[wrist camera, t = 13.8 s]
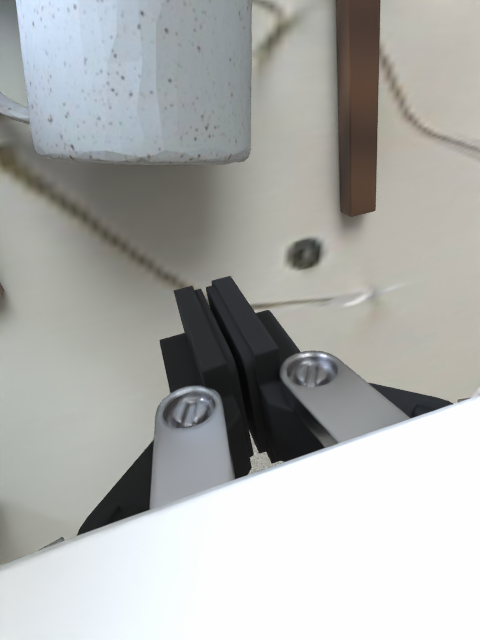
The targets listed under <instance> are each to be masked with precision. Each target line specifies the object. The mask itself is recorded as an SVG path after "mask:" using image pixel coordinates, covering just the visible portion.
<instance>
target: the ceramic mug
mask: <svg viewBox="0 0 480 640" xmlns="http://www.w3.org/2000/svg"><path fill="white" fill-rule="evenodd" d="M16 7H17V15H18V24H19V33H20V43H21V51H22V59H23V67H24V75H25V84H26V92H27V100H28V108H26V107H23V106H21V105H19V104H18V103H16V102H14V101H12V100H10V99H9V98H7V97H6V96H5V95H3V94H2V93H1V92H0V114H2V115H4V116H6V117H8V118H10V119H13V120H16V121H19V122H22V123H25V124H30V127H31V134H32V139H33V143H34V148H35V152H36V153H37V154H39V155H40V156H42V157H46V158H51V159H55V160H65V161H75V162H91V163H107V164H120V165H125V164H133V165H141V164H146V165H160V164H162V165H224V164H230V163H233V162H243V161H245V160H246V159H247V158H248V157H249V154H250V150H251V72H252V32H251V20H252V0H16Z"/></svg>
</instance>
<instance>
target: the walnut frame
mask: <svg viewBox="0 0 480 640" xmlns="http://www.w3.org/2000/svg"><path fill="white" fill-rule="evenodd" d="M336 2H337V49H338V96H339V144H340V191H341V212H342V213H344V214H346V215H348V216H351V217H352V216H357V215H361V214H365V213H369V212H373V211H375V209H376V166H377V123H378V80H379V37H380V0H336ZM3 293H4V289H3V287H2V285H1V283H0V298H1V297H2V295H3Z"/></svg>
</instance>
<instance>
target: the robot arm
mask: <svg viewBox="0 0 480 640" xmlns="http://www.w3.org/2000/svg"><path fill="white" fill-rule="evenodd" d="M206 291H207V296H208V301H209V305H210V307H209V305H208V303H207V301H206V299H205V297H204V294H203V292H202V290H201V289H198V290H194V289H193V286H189V287H186V288H182V289H178V290H174V294H175V298H176V302H177V305H178V309H179V313H180V317H181V321H182V324H183V328H184V332H185V333H183V334H179V335H176V336H172V337H169V338H165V339H161V340H160V346H161V350H162V355H163V360H164V365H165V369H166V374H167V379H168V383H169V388H170V393H171V394H169V395H168V396H167V397H166V398H164V399H163V400H162V402H161V403H160V405H159V406H158V408H157V411H156V415H155V431H154V440H153V441H152V442H151V444H150V445H149V446H148V447H147V448H146V449H145V451H144V452H143V453H142V454H141V455H140V456H139V458H138V459H137V460H136V461H135V462H134V463H133V465H132V466H131V467H130V468H129V469H128V470H127V472H126V473H125V474H124V475H123V476H122V477H121V479H120V480H119V481H118V482H117V483H116V485H115V486H114V487H113V488H112V489H111V490H110V492H109V493H108V494H107V495H106V496H105V497H104V499H103V500H102V501H101V502H100V503H99V504H98V506H97V507H96V508H95V509H94V510H93V511H92V513H91V514H90V515H89V516H88V517H87V519H86V520H85V522H84V523H83V525H82V526H81V527H80V529H79V532H78V534H77V536H75V537H73V538H70V539H67V540H64V538H63V537H61V538H59V539H58V540H56V541H54V542H52V543H50V544H49V545H47V546H45V547H43V548H42V549H40V550H38V551H36V552H34V553H31V554H29V555H26V556H24V557H21V558H19V559H16V560H14V561H11V562H9V563H6V564H4V565H1V566H0V640H480V395H479V396H476V397H473V398H466V399H459V400H458V402H457V403H455V404H453V403H451V402H449V401H446V400H443V399H440V398H437V397H432V396H427V395H423V394H418V393H414V392H409V391H404V390H400V389H395V388H391V387H386V386H381V385H377V384H372V383H368V382H366V381H365V380H364V379H362V378H361V377H360V376H359V375H358V374H356V373H355V372H354V371H353V370H352V369H350V368H349V367H348V366H347V365H346V364H344V363H343V362H342V361H341V360H339V359H338V358H337V357H335V356H333V355H332V354H329V353H326V352H322V351H303V352H300V350H299V349H298V348H297V346H296V345H295V344H294V342H293V341H292V340H291V338H290V337H289V336H288V334H287V333H286V332H285V330H284V329H283V328H282V326H281V325H280V324H279V322H278V321H277V320H276V318H275V317H274V316H273V314H272V313H271V312H270V311H269V310H266V311H262V312H258V313H255V312H254V310H253V309H252V307H251V306H250V304H249V303H248V301H247V300H246V299H245V297H244V296H243V294H242V293H241V291H240V290H239V288H238V287H237V285H236V284H235V282H234V281H233V279H232V278H231V276H228V277H224V278H220V279H216V280H213V281H212V286H209V287H206ZM249 431H250V433H251V435H252V438H253V440H254V443H255V445H256V447H257V450H258V452H259V453H263V452H267V454H268V456H269V459H270V461H271V463H275V462H278V461H284V463H281V464H278V465H275V466H272V467H269V468H266V469H264V470H261V471H258V472H255V473H252V474H249V475H248V473H249V471H250V470H251V468H252V467H251V462H250V457H251V456H253V449H252V444H251V439H250V433H249Z"/></svg>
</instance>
